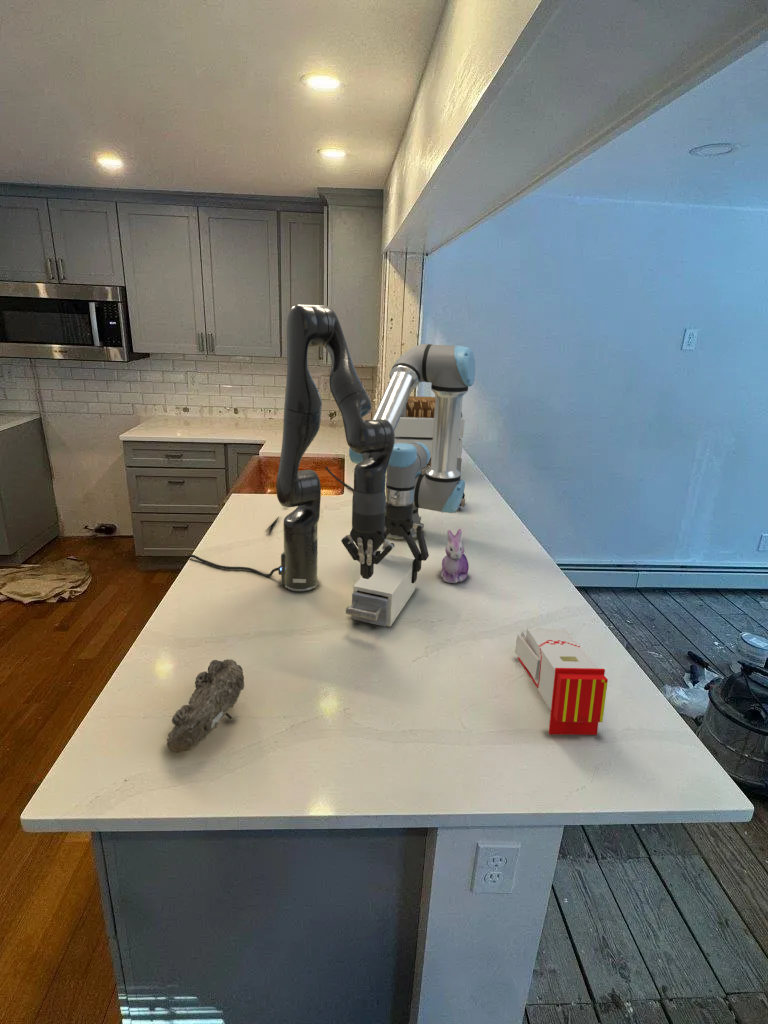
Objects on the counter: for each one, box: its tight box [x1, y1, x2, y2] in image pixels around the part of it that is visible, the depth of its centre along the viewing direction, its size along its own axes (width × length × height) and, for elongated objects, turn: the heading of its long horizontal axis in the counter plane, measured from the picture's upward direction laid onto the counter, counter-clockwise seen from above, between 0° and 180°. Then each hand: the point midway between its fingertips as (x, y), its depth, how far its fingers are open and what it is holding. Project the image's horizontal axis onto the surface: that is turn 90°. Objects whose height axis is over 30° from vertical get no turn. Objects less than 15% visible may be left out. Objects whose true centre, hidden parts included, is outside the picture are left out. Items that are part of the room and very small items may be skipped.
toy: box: [514, 627, 609, 736], centre depth 119 cm, size 12×13×30 cm
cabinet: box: [352, 553, 417, 627], centre depth 151 cm, size 22×10×9 cm, turn 161°
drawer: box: [345, 591, 388, 627], centre depth 146 cm, size 26×9×7 cm, turn 160°
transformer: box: [394, 395, 465, 474], centre depth 268 cm, size 34×33×41 cm
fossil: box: [166, 658, 245, 754], centre depth 106 cm, size 22×10×15 cm
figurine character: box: [457, 492, 466, 511], centre depth 229 cm, size 7×8×15 cm
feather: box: [266, 507, 287, 535], centre depth 206 cm, size 2×28×2 cm
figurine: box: [440, 528, 470, 584], centre depth 167 cm, size 9×10×15 cm
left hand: (366, 577), depth 134 cm, fingers closed
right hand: (395, 577), depth 158 cm, fingers closed on cabinet, 10 cm apart
